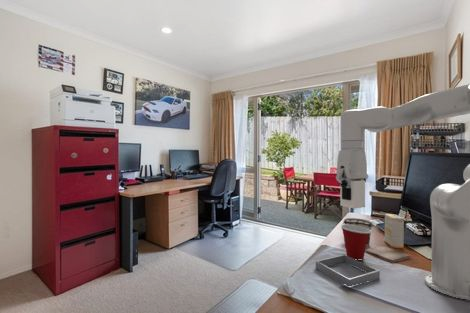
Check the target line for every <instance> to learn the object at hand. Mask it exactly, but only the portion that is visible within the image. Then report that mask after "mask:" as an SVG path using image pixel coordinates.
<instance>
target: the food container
mask: <svg viewBox="0 0 470 313" xmlns="http://www.w3.org/2000/svg"><path fill="white" fill-rule="evenodd" d="M343 224H349V225H356V226H361V227H365V228H368V229H370V230H371V231H372V229H373V228H374V225H373V222H372V221H370V220H367V219H363V218H355V217H348V218H344V219H343V223H342V225H343ZM371 233H372V232H371ZM371 233H370V235H369V238H368V241H367V246H369V245H370V242H371V235H372V234H371Z"/></svg>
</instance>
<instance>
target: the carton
mask: <svg viewBox="0 0 470 313" xmlns="http://www.w3.org/2000/svg"><path fill="white" fill-rule="evenodd" d="M345 182H346V183H347V181H345ZM339 188H340V190H339V191H340V192H339V194H340V195H339V197H340V198H339V201H340V203H339V204H340V206H341V207H345V208H349V209H360V208H366V182H365V181H364V180H354V179H353V180H351V183H350V188H351V200H345V199H342V187H341V185H340V184H339Z"/></svg>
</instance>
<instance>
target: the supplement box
mask: <svg viewBox="0 0 470 313" xmlns="http://www.w3.org/2000/svg"><path fill="white" fill-rule="evenodd" d="M404 224H405V220H404V218H403V217H401V216H399V215H397V214H393V213H385V214H384V242H385V243H387V245H389V246H390V247H391V248H392V249H393V248H395V249H404V231H405V230H404V226H405V225H404Z"/></svg>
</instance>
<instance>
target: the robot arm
mask: <svg viewBox="0 0 470 313" xmlns="http://www.w3.org/2000/svg"><path fill="white" fill-rule="evenodd" d="M468 114H470V83H468V84H464V85H459V86H455V87H452V88H447V89H445V90H440V91H435V92H431V93H427V94H424V95H422V96H419V97H417V98H415V99H413V100H410V101H409V102H406V103H403V104H400V105H397V106H393V107H390V108H389V107H386V106H376V107H369V108H365V109H349V110H344V111H342V112H341V113H340V150H339V151H338V154H337V155H338V156H337V162H336V163H337V164H336V176H335V179H336V181H337V182H338V184H339V186H340V185H341V187H342V199H345V200H351V188H350V183H351V180H353V179H354V180H364V181H365V183H366V182H367V180H368V179H369V175H368V169H367V168H368V167H367V166H368V164H367V157H366V156H367V154H366V136H365V135H366V131H365V130H367V131H368V132H370V133H380V132H384V131H391V130H394V129H395V130H396V129H399V128H400V129H401V128H404V127H409V126H414V125H415V126H416V125H421V124H426V123H431V122H435V121H440V120H446V119H448V118H453V117H459V116H465V115H468ZM462 176H463V177H462V178H463V180H464V181H465V182H464V183H462V184H457V183H442V184H439V185H438V186H436V187H435V188H434V189H433V190H432V191H431V193H430V196H429V205H430V213H431V229H432V230H431V265H430V266H431V269H430V272H431V273H430V274H429V275H426V276H425V277H424V283H425V282H426V283H425V284H426V285H427V286H428V287H429V288H430V287H431V288H430V289H432V288H433V289H434V291H435V290H436V291H435V292H437V291H439V292H441V293H440V294H442V293H445V294H447V295H450V296H453V297H456V298H455V299H457V298H462V299H470V163H469V164H467V166H466V167H465V168H464V169H463V174H462ZM345 181H347V183H346V182H345ZM433 289H432V290H433ZM439 292H438V293H439ZM447 295H446V296H447ZM450 296H449V297H450ZM453 297H452V298H453ZM462 299H461V300H462Z"/></svg>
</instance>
